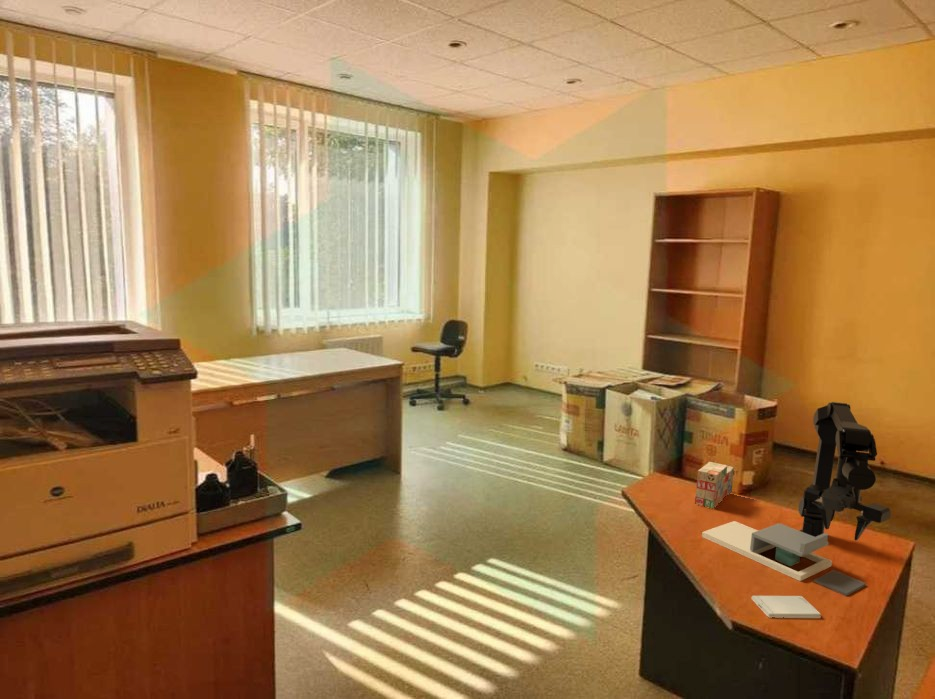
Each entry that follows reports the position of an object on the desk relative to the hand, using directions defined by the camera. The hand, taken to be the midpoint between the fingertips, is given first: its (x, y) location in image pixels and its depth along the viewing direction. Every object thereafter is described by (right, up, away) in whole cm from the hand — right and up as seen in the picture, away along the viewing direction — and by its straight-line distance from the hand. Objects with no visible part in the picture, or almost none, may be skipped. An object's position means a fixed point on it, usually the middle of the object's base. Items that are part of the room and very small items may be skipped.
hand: (841, 534), depth 162 cm
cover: (-8, -9, +12) cm, 17 cm away
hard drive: (-20, -15, -11) cm, 28 cm away
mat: (0, -13, +1) cm, 13 cm away
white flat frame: (-11, -10, +18) cm, 24 cm away
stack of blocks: (-11, -4, +57) cm, 58 cm away
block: (-8, -11, +12) cm, 18 cm away
